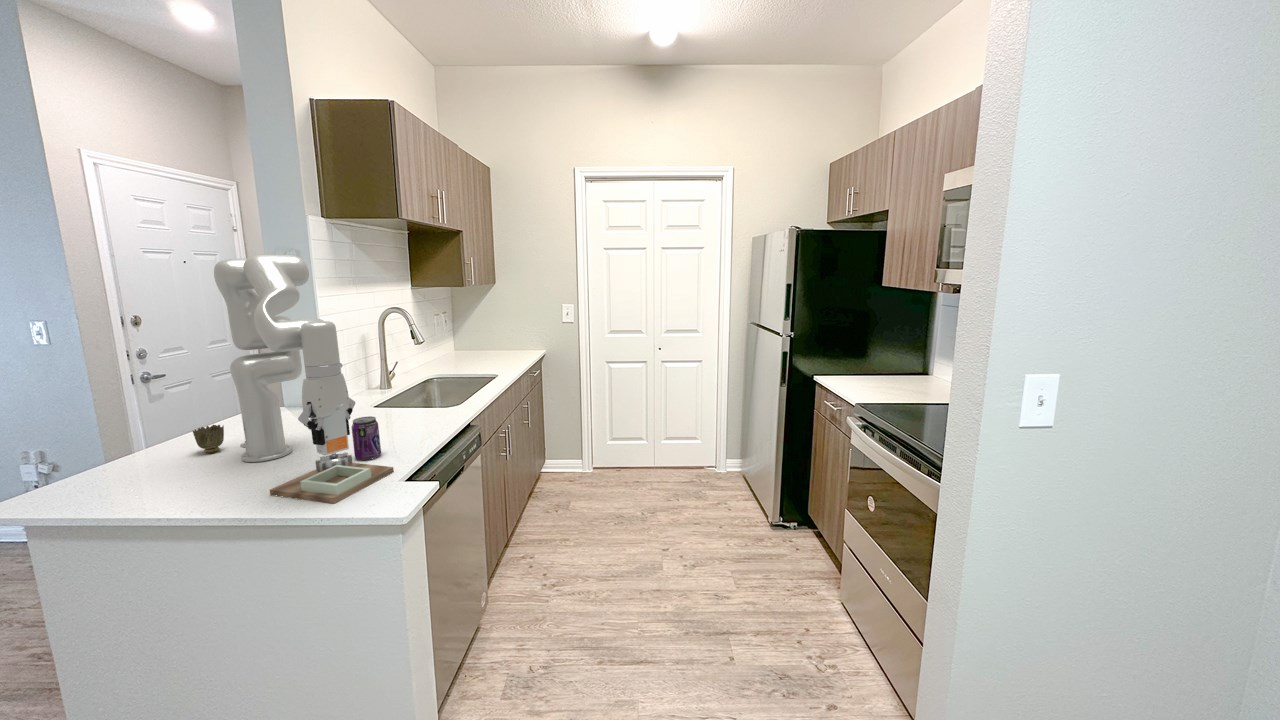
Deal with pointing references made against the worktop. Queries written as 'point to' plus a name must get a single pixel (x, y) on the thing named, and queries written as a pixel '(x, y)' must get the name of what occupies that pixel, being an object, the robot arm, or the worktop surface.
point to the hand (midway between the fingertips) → (332, 439)
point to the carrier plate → (294, 485)
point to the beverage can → (366, 438)
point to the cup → (209, 438)
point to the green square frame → (320, 486)
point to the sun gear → (333, 461)
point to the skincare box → (334, 432)
